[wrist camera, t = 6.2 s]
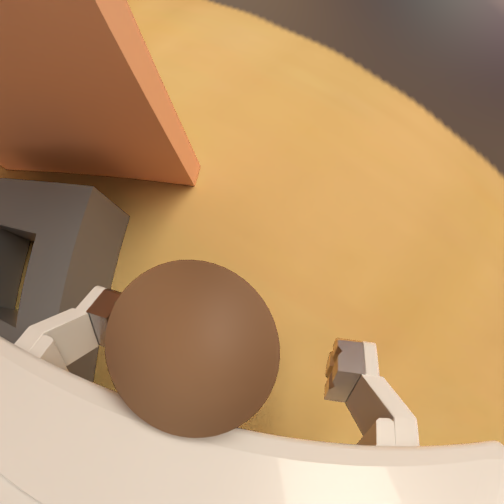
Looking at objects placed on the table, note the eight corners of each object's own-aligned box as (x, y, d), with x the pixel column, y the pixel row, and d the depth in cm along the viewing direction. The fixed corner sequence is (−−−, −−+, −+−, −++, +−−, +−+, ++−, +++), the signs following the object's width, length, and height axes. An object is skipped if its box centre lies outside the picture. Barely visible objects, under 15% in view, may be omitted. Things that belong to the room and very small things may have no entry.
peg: (221, 379, 18) (138, 451, 6) (199, 316, 19) (87, 292, 7) (287, 357, 18) (305, 408, 6) (263, 293, 19) (242, 234, 7)
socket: (92, 389, 18) (46, 400, 13) (-13, 334, 19) (-55, 330, 14) (129, 216, 21) (93, 186, 16) (19, 199, 22) (-18, 176, 17)
